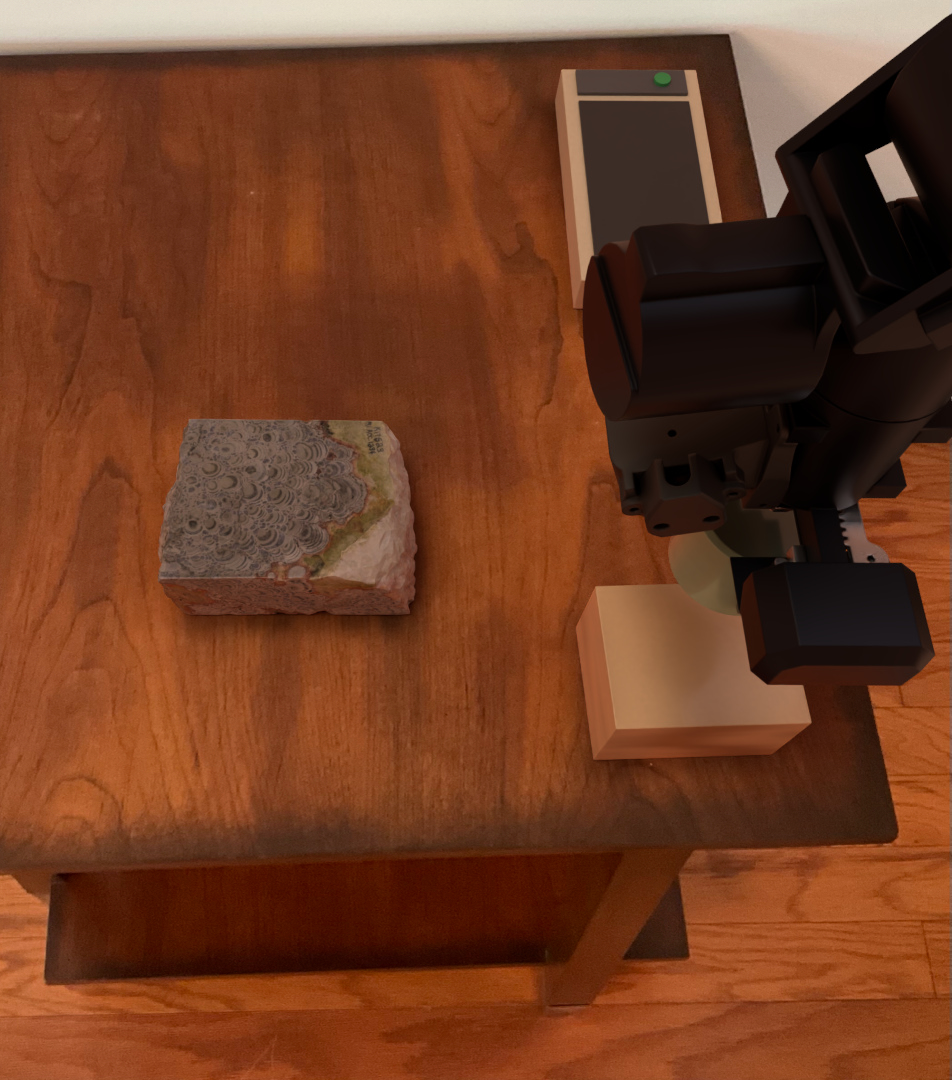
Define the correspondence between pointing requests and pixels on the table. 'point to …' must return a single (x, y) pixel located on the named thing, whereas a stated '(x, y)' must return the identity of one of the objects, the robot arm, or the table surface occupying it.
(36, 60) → the table surface
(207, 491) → the geological specimen
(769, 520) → the cup
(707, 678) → the riser
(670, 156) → the copier
